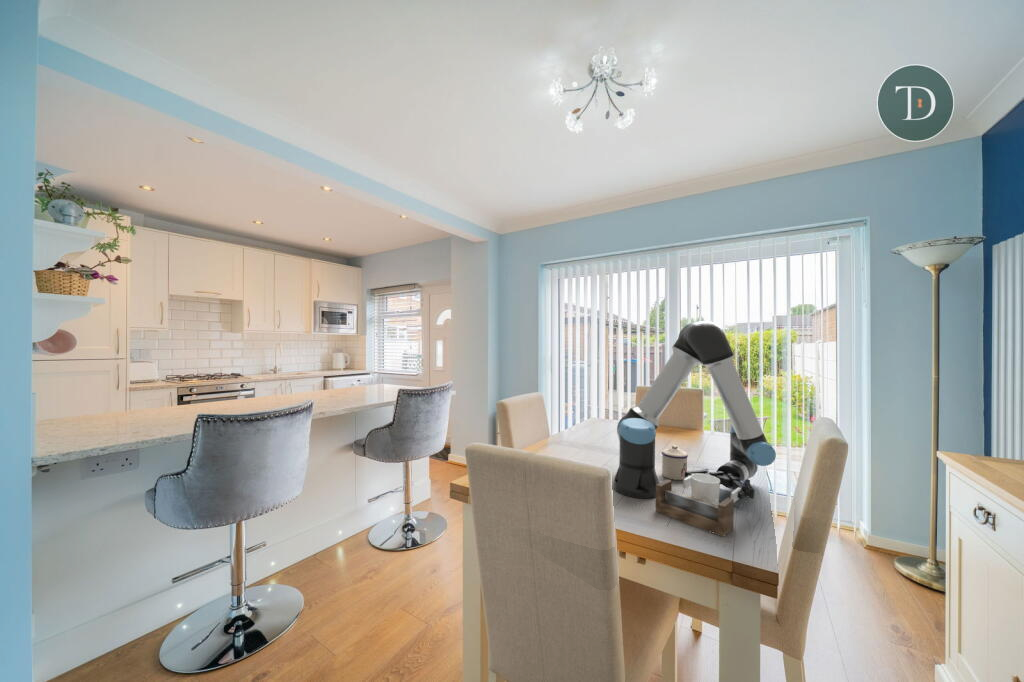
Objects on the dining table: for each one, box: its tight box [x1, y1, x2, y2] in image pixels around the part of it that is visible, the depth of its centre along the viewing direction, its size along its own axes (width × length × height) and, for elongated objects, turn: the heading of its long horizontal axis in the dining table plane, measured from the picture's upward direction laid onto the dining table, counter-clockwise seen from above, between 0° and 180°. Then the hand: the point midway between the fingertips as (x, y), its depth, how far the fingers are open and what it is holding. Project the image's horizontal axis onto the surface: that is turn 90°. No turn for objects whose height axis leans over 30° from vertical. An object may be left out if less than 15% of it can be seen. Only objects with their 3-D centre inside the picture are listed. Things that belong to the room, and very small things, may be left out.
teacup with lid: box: [661, 444, 689, 481], centre depth 144 cm, size 12×9×12 cm
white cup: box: [690, 474, 721, 506], centre depth 114 cm, size 8×8×10 cm
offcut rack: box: [655, 478, 735, 537], centre depth 108 cm, size 19×7×8 cm, turn 41°
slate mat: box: [719, 488, 751, 508], centre depth 124 cm, size 12×10×1 cm
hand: (707, 490), depth 113 cm, fingers open, 13 cm apart
